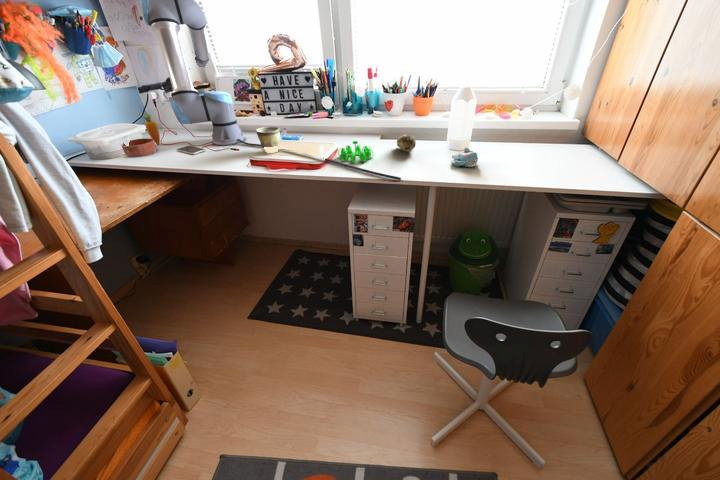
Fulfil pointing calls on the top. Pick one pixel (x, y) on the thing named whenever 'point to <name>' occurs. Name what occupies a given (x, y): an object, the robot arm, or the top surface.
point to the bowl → (139, 147)
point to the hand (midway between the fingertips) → (152, 90)
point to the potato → (406, 142)
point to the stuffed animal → (465, 158)
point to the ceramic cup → (268, 136)
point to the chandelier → (355, 153)
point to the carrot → (152, 129)
